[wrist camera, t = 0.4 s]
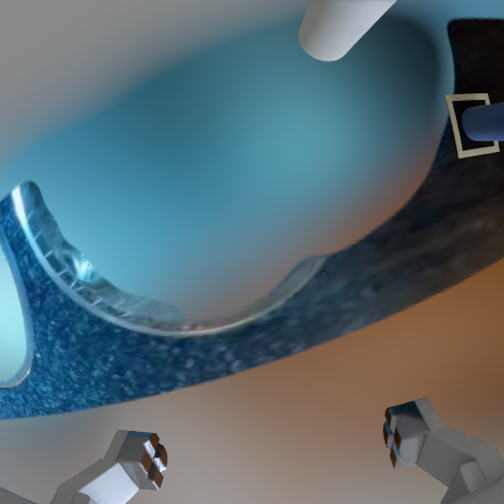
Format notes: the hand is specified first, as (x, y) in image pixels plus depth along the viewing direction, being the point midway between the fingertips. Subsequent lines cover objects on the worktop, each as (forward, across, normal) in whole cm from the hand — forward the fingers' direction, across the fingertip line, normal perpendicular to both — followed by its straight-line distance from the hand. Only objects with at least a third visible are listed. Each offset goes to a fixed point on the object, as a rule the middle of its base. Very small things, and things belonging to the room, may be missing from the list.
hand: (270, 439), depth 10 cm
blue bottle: (+28, -29, -11) cm, 41 cm away
